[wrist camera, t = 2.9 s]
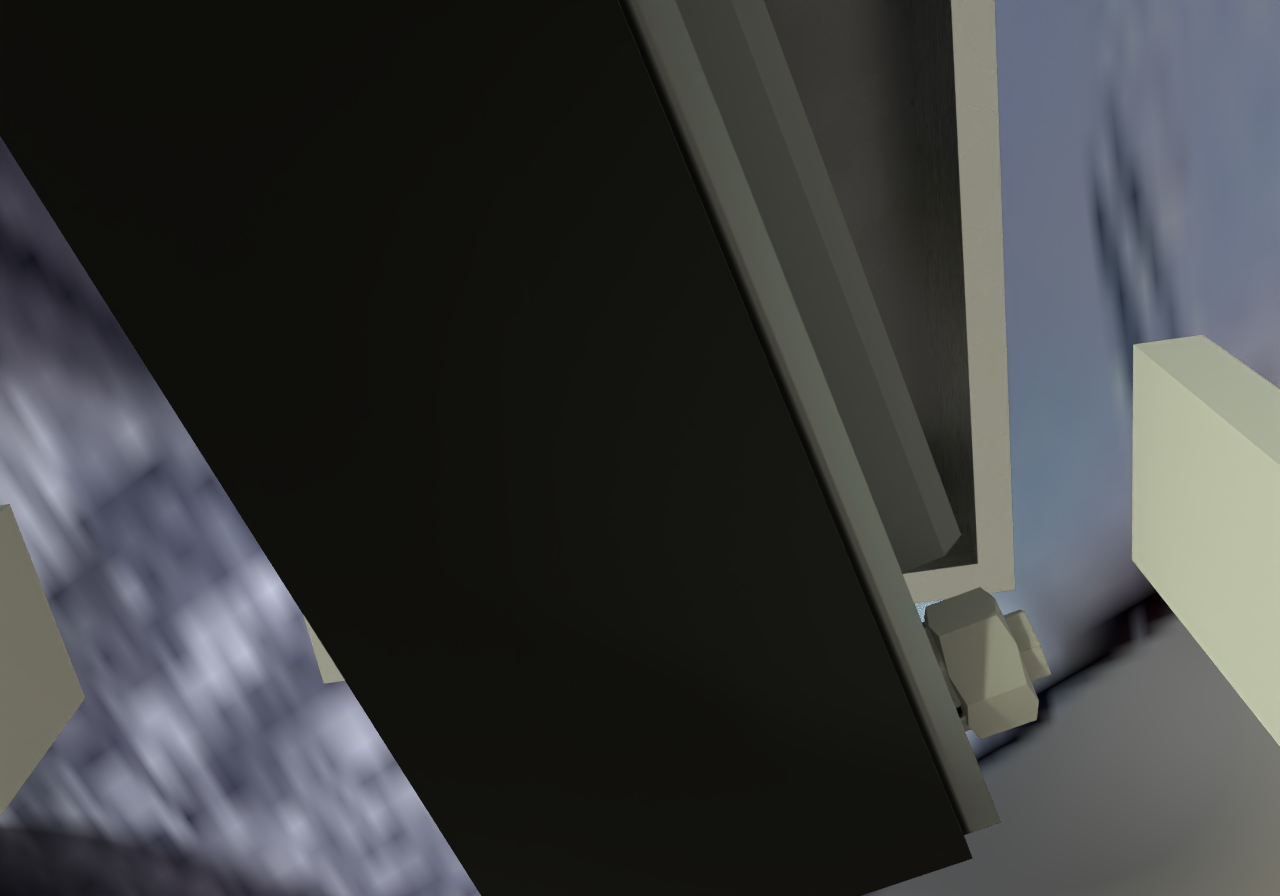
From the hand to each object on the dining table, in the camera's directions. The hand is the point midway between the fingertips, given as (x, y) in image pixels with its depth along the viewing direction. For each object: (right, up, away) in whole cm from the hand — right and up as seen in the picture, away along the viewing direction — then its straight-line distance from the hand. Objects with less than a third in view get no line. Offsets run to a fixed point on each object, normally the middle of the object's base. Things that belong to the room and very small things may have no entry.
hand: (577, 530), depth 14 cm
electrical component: (0, +9, +20) cm, 22 cm away
